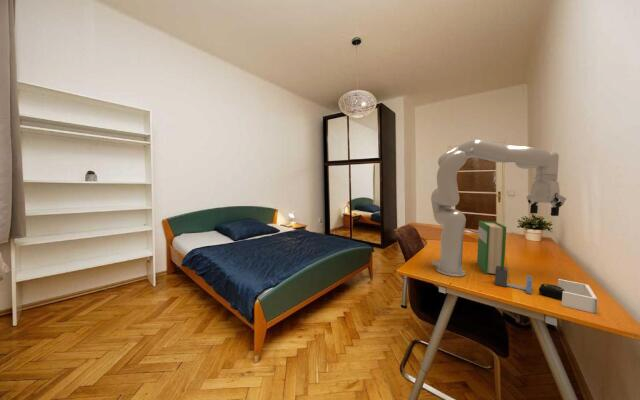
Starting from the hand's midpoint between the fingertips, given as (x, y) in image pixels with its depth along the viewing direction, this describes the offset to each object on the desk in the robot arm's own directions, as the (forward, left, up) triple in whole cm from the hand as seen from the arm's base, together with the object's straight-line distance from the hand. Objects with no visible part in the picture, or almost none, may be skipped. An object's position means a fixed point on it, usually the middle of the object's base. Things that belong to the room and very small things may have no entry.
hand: (543, 214), depth 111 cm
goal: (+9, -27, -30) cm, 41 cm away
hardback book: (-19, -8, -30) cm, 37 cm away
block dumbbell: (-9, -27, -29) cm, 41 cm away
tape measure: (+3, -28, -30) cm, 41 cm away
